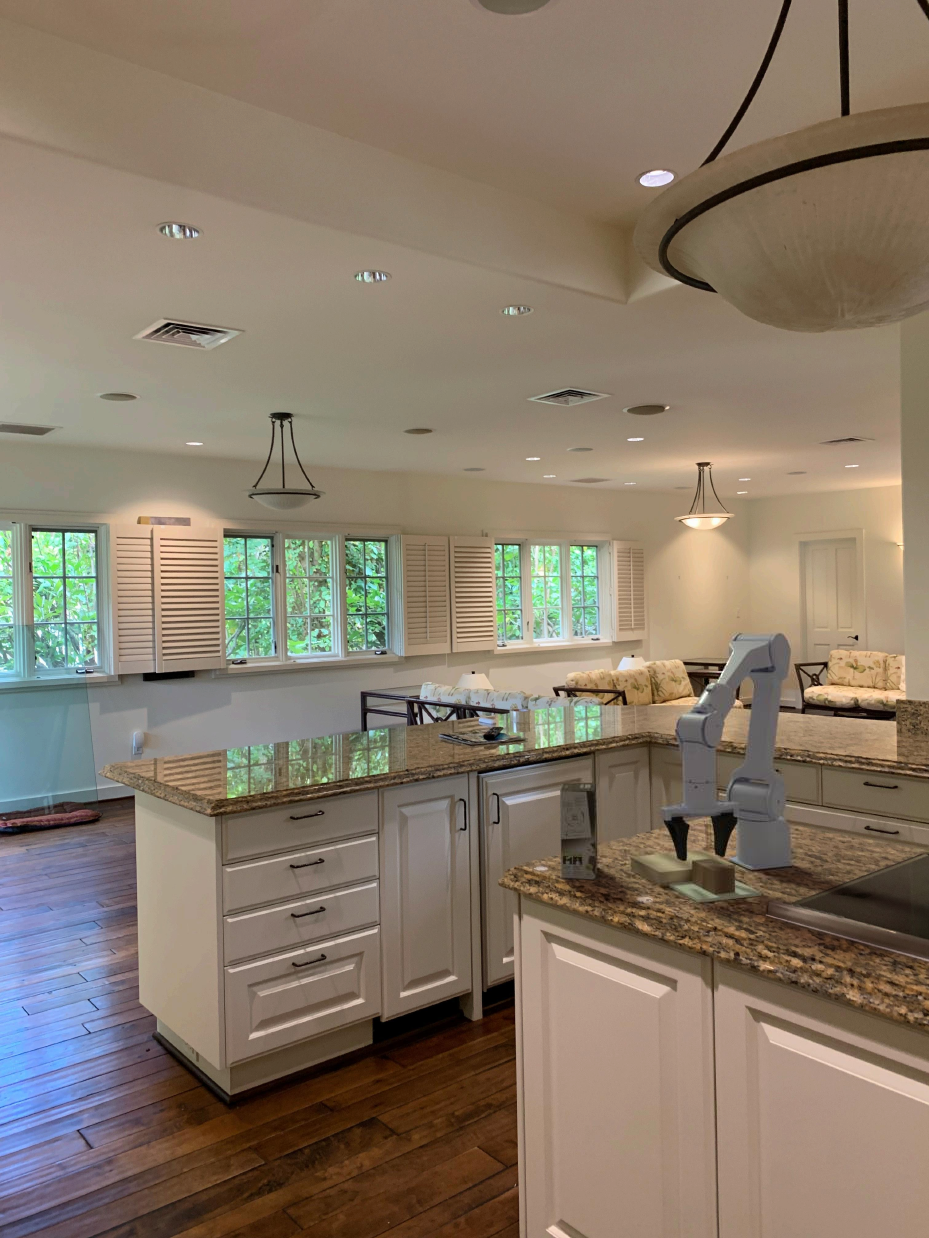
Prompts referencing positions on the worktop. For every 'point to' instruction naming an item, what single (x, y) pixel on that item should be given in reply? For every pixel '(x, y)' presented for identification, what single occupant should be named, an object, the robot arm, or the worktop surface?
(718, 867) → the walnut block
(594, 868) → the coffee box
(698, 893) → the green mat
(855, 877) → the worktop surface
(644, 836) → the worktop surface
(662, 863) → the maple board
